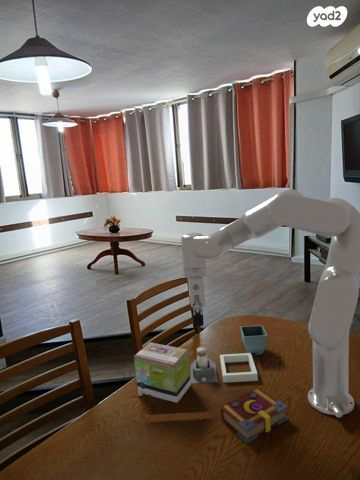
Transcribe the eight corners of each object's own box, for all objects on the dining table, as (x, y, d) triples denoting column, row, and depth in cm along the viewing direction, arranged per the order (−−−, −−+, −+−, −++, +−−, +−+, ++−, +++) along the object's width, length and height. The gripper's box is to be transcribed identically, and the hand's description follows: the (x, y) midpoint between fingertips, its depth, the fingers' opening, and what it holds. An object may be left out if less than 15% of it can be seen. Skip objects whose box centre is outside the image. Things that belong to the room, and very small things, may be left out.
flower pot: (268, 357, 131) (267, 335, 129) (244, 359, 131) (243, 336, 129) (263, 346, 139) (262, 324, 138) (241, 347, 140) (239, 326, 138)
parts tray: (258, 384, 115) (257, 373, 114) (223, 386, 116) (223, 375, 115) (251, 362, 128) (250, 352, 127) (220, 364, 129) (219, 354, 128)
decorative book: (220, 420, 101) (219, 405, 100) (262, 398, 108) (261, 384, 108) (247, 445, 91) (246, 428, 90) (290, 419, 99) (290, 403, 98)
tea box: (137, 396, 114) (132, 355, 112) (153, 379, 123) (149, 340, 120) (178, 407, 107) (173, 363, 104) (192, 388, 116) (188, 347, 113)
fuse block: (217, 385, 116) (217, 373, 115) (190, 387, 117) (189, 375, 116) (215, 366, 128) (214, 354, 127) (190, 367, 128) (189, 356, 128)
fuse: (208, 374, 120) (206, 351, 119) (198, 375, 120) (196, 352, 119) (208, 369, 124) (206, 346, 122) (198, 369, 124) (196, 347, 122)
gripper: (207, 278, 106) (210, 330, 110) (205, 263, 123) (208, 308, 127) (182, 279, 107) (187, 331, 110) (184, 264, 124) (187, 310, 127)
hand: (198, 319), depth 118 cm, fingers open, 9 cm apart
